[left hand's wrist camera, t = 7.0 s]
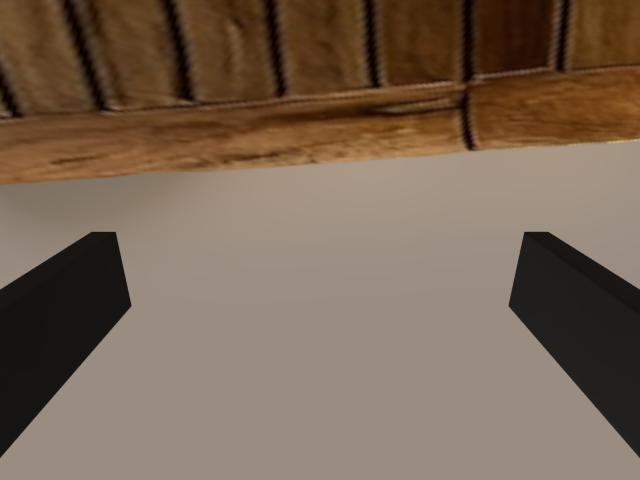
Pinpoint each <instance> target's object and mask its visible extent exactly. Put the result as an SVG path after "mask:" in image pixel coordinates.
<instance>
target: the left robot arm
mask: <svg viewBox="0 0 640 480" xmlns="http://www.w3.org/2000/svg"><path fill="white" fill-rule="evenodd" d="M130 307H131V301H130V297H129V292H128V287H127V283H126V278H125V273H124V269H123V264H122V259H121V255H120V250H119V245H118V241H117V236H116V232H91V233H89V234H88V235H86V236H84V237H83V238H81V239H80V240H78V241H76V242H75V243H73V244H72V245H70V246H69V247H67V248H65V249H64V250H62V251H61V252H59V253H58V254H56V255H54V256H53V257H51V258H49V259H48V260H46V261H45V262H43V263H42V264H40V265H38V266H37V267H35V268H34V269H32V270H30V271H29V272H27V273H26V274H24V275H23V276H21V277H19V278H18V279H16V280H15V281H13V282H12V283H10V284H8V285H7V286H5V287H4V288H2V289H0V458H1V456H2V455H3V454H4V453H5V452H6V451H7V449H8V448H9V447H10V446H11V445H12V444H13V442H14V441H15V440H16V439H17V438H18V437H19V436H20V434H21V433H22V432H23V431H24V430H25V429H26V427H27V426H28V425H29V424H30V423H31V422H32V421H33V419H34V418H35V417H36V416H37V415H38V414H39V412H40V411H41V410H42V409H43V408H44V407H45V405H46V404H47V403H48V402H49V401H50V400H51V399H52V397H53V396H54V395H55V394H56V393H57V392H58V390H59V389H60V388H61V387H62V386H63V385H64V384H65V382H66V381H67V380H68V379H69V378H70V377H71V375H72V374H73V373H74V372H75V371H76V370H77V368H78V367H79V366H80V365H81V364H82V363H83V361H84V360H85V359H86V358H87V357H88V356H89V355H90V353H91V352H92V351H93V350H94V349H95V348H96V346H97V345H98V344H99V343H100V342H101V341H102V340H103V338H104V337H105V336H106V335H107V334H108V333H109V331H110V330H111V329H112V328H113V327H114V326H115V325H116V323H117V322H118V321H119V320H120V319H121V317H122V316H123V315H124V314H125V313H126V312H127V311H128V309H129V308H130ZM509 307H510V308H511V309H512V311H513V312H514V313H515V314H516V315H517V316H518V318H519V319H520V320H521V321H522V322H523V323H524V325H525V326H526V327H527V328H528V329H529V330H530V331H531V333H532V334H533V335H534V336H535V337H536V338H537V340H538V341H539V342H540V343H541V344H542V345H543V346H544V348H545V349H546V350H547V351H548V352H549V353H550V355H551V356H552V357H553V358H554V359H555V360H556V362H557V363H558V364H559V365H560V366H561V367H562V368H563V370H564V371H565V372H566V373H567V374H568V375H569V377H570V378H571V379H572V380H573V381H574V382H575V383H576V385H577V386H578V387H579V388H580V389H581V390H582V392H583V393H584V394H585V395H586V396H587V397H588V399H589V400H590V401H591V402H592V403H593V404H594V405H595V407H596V408H597V409H598V410H599V411H600V412H601V414H602V415H603V416H604V417H605V418H606V419H607V421H608V422H609V423H610V424H611V425H612V426H613V427H614V429H615V430H616V431H617V432H618V433H619V434H620V436H621V437H622V438H623V439H624V440H625V441H626V443H627V444H628V445H629V446H630V447H631V448H632V449H633V451H634V452H635V453H636V454H637V455H638V456H639V458H640V289H638V288H636V287H635V286H633V285H632V284H630V283H629V282H627V281H625V280H624V279H622V278H621V277H619V276H617V275H616V274H614V273H613V272H611V271H610V270H608V269H606V268H605V267H603V266H602V265H600V264H598V263H597V262H595V261H594V260H592V259H591V258H589V257H587V256H586V255H584V254H583V253H581V252H579V251H578V250H576V249H575V248H573V247H571V246H570V245H568V244H567V243H565V242H564V241H562V240H560V239H559V238H557V237H556V236H554V235H552V234H551V233H549V232H524V236H523V241H522V245H521V250H520V255H519V259H518V264H517V269H516V273H515V278H514V283H513V287H512V292H511V297H510V301H509Z"/></svg>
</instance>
